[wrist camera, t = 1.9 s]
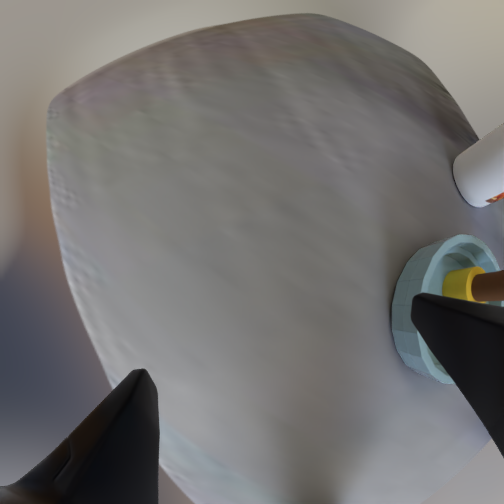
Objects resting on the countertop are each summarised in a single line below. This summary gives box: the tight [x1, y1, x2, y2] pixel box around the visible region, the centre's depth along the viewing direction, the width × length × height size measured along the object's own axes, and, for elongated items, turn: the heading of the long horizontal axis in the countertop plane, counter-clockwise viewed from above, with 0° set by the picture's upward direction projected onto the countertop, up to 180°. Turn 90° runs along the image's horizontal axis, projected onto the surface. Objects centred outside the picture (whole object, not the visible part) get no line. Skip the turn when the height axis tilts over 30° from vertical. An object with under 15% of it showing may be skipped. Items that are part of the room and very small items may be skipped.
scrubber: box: [442, 266, 504, 303], centre depth 17 cm, size 4×4×13 cm
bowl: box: [392, 234, 504, 384], centre depth 22 cm, size 15×15×5 cm
